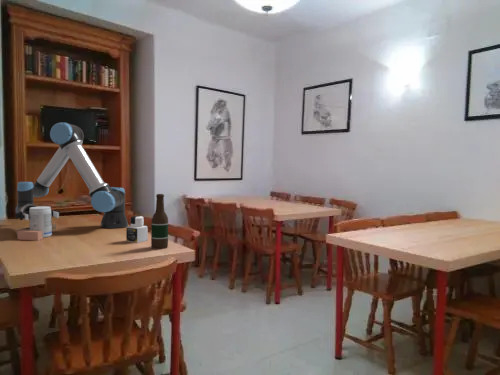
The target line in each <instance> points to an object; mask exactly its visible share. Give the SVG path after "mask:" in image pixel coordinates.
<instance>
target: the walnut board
mask: <svg viewBox="0 0 500 375" xmlns="http://www.w3.org/2000/svg"><path fill="white" fill-rule="evenodd" d="M20 230H30V226H28V227H24V228H18V229H16V232H15V233H16V235H15V236H16V237H17V231H20ZM55 230H57V224H56V223H52V231H55Z"/></svg>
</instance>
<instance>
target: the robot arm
mask: <svg viewBox="0 0 500 375" xmlns="http://www.w3.org/2000/svg"><path fill="white" fill-rule="evenodd" d="M49 136H50V137H49V138H50V139H51V141H52V142H53V143H54V144H57V145H58V146H59V147H58V149H57V150H56V152H55V153H54V155H53V156H52V157H51V159H50V160H49V161H48V163H47V164H46V166H45V167H44V169H43V171H42V172H41V173H40V174H39V176H38V178H37V179H36V181H35V182H32V181H18V182H17V186H16V187H17V188H16V191H17V192H16V194H17V195H16V196H17V204H16V207H15V214H14V216H15V217H14V218H15V220H19V221H23V220H24V221H30V219H29V210H30V208H31V207H38V206H37V205H34V199H35V198H42V197H46V195H48V194H49V190H50V189H49V188H50V186H52V183H53V182H54V181H55V179H56V178H57V177H58V175H59V173H60V172H61V170H62V169H63V168H64V166H65V165H66V164H67V162H68V161H69V160H71V162H72V164H73V165H74V167H75V168H76V170H77V172H78V173H79V175H80V176H81V178H82V180H83V181H84V183H85V184H86V186H87V189H88V190H89V193H88V196H89V197H90V199H91V200H90V204H91V207H92V208H93V209H94V210H95V211H97V212H99V213H103V216H102V218H101V221H100V228H103V229H120V228H121V229H122V228H126V227H128V226H129V223H128V222H129V221H128V219H127V216H126V192H125V191H126V190H125V188H123V187H114V186H110V184H109V183H107V182H105V181H104V180H103V178H102V176H101V174H100V173H99V171H98V170H97V168H96V167H95V165H94V163H93V162H92V160H91V158H90V156H89V154H88V153H87V152H86V150H85V149H84V147H83V142H84V139H85V135H84V132H83V129H81V127H79V126H78V125H75V124H71V123H68V122H58V123H55V124H53V125H52V127H51V129H50V131H49ZM60 216H61V210H57V209H55V210H53V209H51V217H53V218H57V219H59V218H60Z"/></svg>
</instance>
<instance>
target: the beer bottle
mask: <svg viewBox="0 0 500 375" xmlns="http://www.w3.org/2000/svg"><path fill="white" fill-rule="evenodd" d="M155 197H156V203H155V212H154V213H153V215H152V217H151V218H152V219H151V229H150V230H151V234H150V235H151V240H150V241H151V242H150V246H151V247H150V248H152V249H154V250H155V249H156V250H163V249H167V248H169V247H168V246H169V217H168V215H167V213H166V212H165V201H164V200H165V198H164V197H165V194H163V193H157V194H156V195H155Z"/></svg>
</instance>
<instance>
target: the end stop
mask: <svg viewBox="0 0 500 375" xmlns="http://www.w3.org/2000/svg"><path fill="white" fill-rule="evenodd" d="M16 237H17V240H24V241H41V240H43V237H42V231H31V230H20V231H17V236H16Z"/></svg>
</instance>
